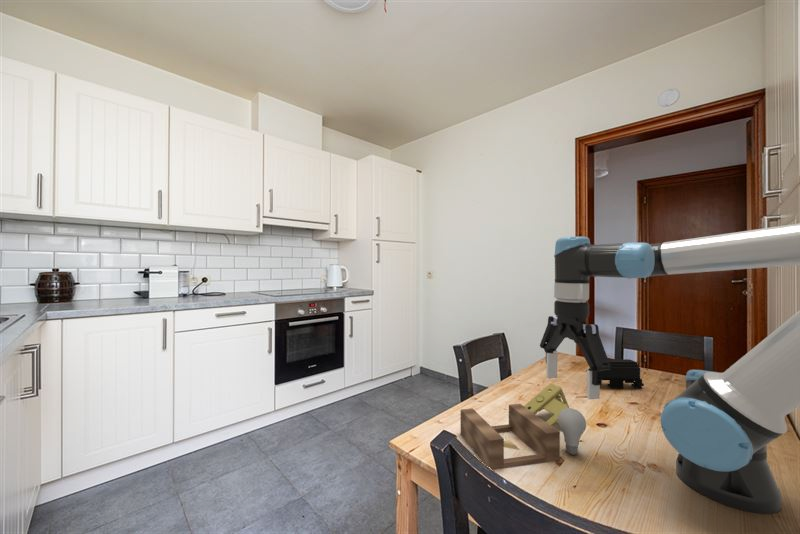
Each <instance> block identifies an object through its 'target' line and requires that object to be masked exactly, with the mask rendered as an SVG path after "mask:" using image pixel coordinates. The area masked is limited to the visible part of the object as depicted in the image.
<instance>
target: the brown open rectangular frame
mask: <svg viewBox="0 0 800 534" xmlns="http://www.w3.org/2000/svg"><path fill="white" fill-rule="evenodd" d="M501 433H513V434H514V435H515V436H516V437H517V438H518V439H520V441H522V443H524V444H525V445H526V446H528V448H530V449H531V450H532V451H533V452H534V453H536V454H531V455H530V454H529V455H523V456H521V455H520V456H515V457H514V456H513V457H509V458H505V456H504V455H505V451H504V450H505V448H507V449H511V450H517V451H521V449H520V448H519V447H518V446H517V445H516V444H515V443H513V441H511V439H508V440H505V438H504V437H503V436H502V435H500V434H501ZM460 435H461V437H462V438H463V439H464V440H465V442H466V443H467V445H468V446H470V448H471V450H472V451H474V453H475V454H476V455H477V457H478V458H479V459H480V461H481V462H482V463H483V464H484V465H485V464H486V465H487V466H488V467H490V468H491V469H492V470H491V471H493V470H495V471H496V470H501V469H507V468H509V469H510V468H515V467H522V466H523V467H524V466H529V465H537V464H544V463H552V462H558V461H560V460H561V456H560V455H561V445H560V444H561V439H560V438H561V433H560V430H558V429H557V428H555V427H554V426H553V425H552V426H551V425H549V424H548V423H547V422H546V420H544V419H542V418H541V417H539V416H538V415H537V414H534V413H532V412H531V411H530V410H528V409H527V408H525V407H524V405H523V404H521V403H513V404H508V423H507V424H499V425H490V424H489V422H487V420H485V419H484V418H483V417H482V416H481V415H480V414H479V413H478V412H477V411H476V410H475V409H474V408H473V407H472V408H462V409H460ZM486 465H485V466H486ZM487 466H486V467H487Z"/></svg>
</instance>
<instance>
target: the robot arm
mask: <svg viewBox="0 0 800 534" xmlns="http://www.w3.org/2000/svg"><path fill="white" fill-rule="evenodd" d="M590 241H591V240H590V238H589V237H587V236H566V237H564V236H563V237H559V238H558V239H557V240H556V241H555V243H554V244H555V245H554V246H555V247H554V254H553V258H554V284H553V285H554V290H553V292H554V293H553V298H554V299H556V300H555V301H554V304H553V305H554V308H553V309H554V311H553V313H554V315H551V316H550V315H549V316H548V318H547V324H546V327H545V330H544V333H543V335H542V338H541V340H540V343H539V347H540V349H543V350H544V353H545V364H546V367H545V368H546V369H545V371H546V373H545V374H546V375H545V377H546V378H547V379H556V378H558V353H557V352H558V350H557V349H558V348H559V346H560V345H561V344H562V342H563V341H564V340H565V339H567V338H568V339H569V340H572V341H573V343H575V344H577V346H578V348H579V349H580V351H581V354H582V355H583V358H584V359H585V362H586V363H587V365H588V367H589V368H587V369H586V399H588V400H599V399H600V396H601V395H600V392H601V388H600V387H601V386H602V384H603V380H602V371H603V370H610V369H611V366H610V363H609V361H608V359H609V358H608V356H607V353H606V350H605V348H604V347H605V346H604V345H603V341H602V339H601V337H600V330H599V325H598V324H587V318H589V317H590V303H589V302H588V301H589V299H590V277H592V278H594V277H599V278H620V279H621V278H623V279H624V278H625V279H629V280H630V279H639V278H640V279H645V278H649V277H656V276H668V275H680V274H681V275H682V274H695V273H705V272H722V271H723V272H724V271H734V270H747V269H763V268H776V267H789V266H800V222H799V223H793V224H785V225H777V226H770V227H764V228H757V229H750V230H743V231H737V232H729V233H721V234H714V235H707V236H701V237H694V238H693V237H692V238H685V239H680V240H679V239H678V240H671V241H665V242H659V243H658V242H656V243H648V242H636V241H635V242H632V241H629V242H619V243H604V244H602V243H601V244H591V242H590ZM594 363H595V364H596V365H595V364H594ZM602 363H603V364H602ZM684 381H685V382H686V383H685V385H686V386H685V387H686V388H685V390H684V391H682V392H681V393H680V394H679V395H677V397H675V398H673V399H671V400H669V401H668V402H666V403H665V405H664V406H663V409H662V411H661V414H660V418H659V419H660V421H659V422H660V427H661V429H662V432H663V435H664V437H665V439H666V440H667V441H668V443H669V444H670V446H672V448H673V449H674V450H676V451H677V452H678V455H677V457H676V460H675V473H676V476H678V478H679V479H680V480H681V482H683V483H684V484H685V485H687V486H688V487H689V488H691V489H692V490H693V491H696V492H697V493H698V494H701V495H703V496H705V497H707V498H709V499H711V500H713V501H715V502H717V503H720V504H722V505H725V506H729V507H730V508H734V509H736V510H737V509H738V510H742V511H744V512H745V511H746V512H749V513H757V514H774V513H778V512H780V511H781V509H782V494H781V491H780V488H779V487H778V484H777V482H776V478H775V477H774V475H773V472H772V470H771V468H770V465H769V463H768V456H767V454H768V451H767V450H768V446H767V445H768V444H770V443H771V442H773V441H775V440H777V439H778V438H779V437H781V436H782V435H785V433H787V432H788V426H787V423H786V419H785V418H786V417H785V416H787V415H789V414H790V413H792V412H793V411H795V410H796V409H798V408H799V407H800V309H799V310H798V311H797V312H796V313H794V314H793V315H792V316H791V317H789V318H788V319H787V320H786V321H785V322H783V323H782V324H781V325H780V326H779V327H777V328H776V329H775V330H773V331H772V332H771V333H770V334H769V335H767V336H766V337H765V338H764V339H763V340H761V341H760V342H759V343H758V344H756V345H755V346H754V347H753V348H752V349H751V350H749V351H748V352H747V353H745V355H743V356H742V357H740V358H739V359H738V360H737V361H736V362H734V363H733V364H732V365H730V366H729V368H727V369H726V370H725V371H724V372H717V371H711V370H710V371H709V370H703V369H689V370H688V371H687V372H686V375H685V378H684Z"/></svg>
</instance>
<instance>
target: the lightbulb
mask: <svg viewBox="0 0 800 534" xmlns="http://www.w3.org/2000/svg"><path fill="white" fill-rule="evenodd" d="M557 423H558V425H559V428H560V430H561V432H562V434H563V439H564V443H565V451H566V452H567V454H570V455H578V453H579V451H578V450H579V445H580V439H581V437H582V436H583V434H584V433H585V431H586V428H587V421H586V418H585V416H584V415H583V414H582V412H580V410H577V409H575V408H572V407H569V408H566V409H563V410H562V411H561V412H560V413H559V415H558V421H557Z"/></svg>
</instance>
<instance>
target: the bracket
mask: <svg viewBox="0 0 800 534" xmlns="http://www.w3.org/2000/svg"><path fill="white" fill-rule="evenodd" d="M523 406H524V407H525V408H527V409H528V410H530V411H531V412H532V413H534V414H535V415H537V413H538V412H542V411H543V410H545V411H547V412H548V413H550V414H551V415H552V416H551V417H550V418H549V419H547V420H545V422H547V423H548V424H549V425H551V426H552V427H553V425H555V423H558V415H559V413H560V412H561V411H562V410H563V409H566V408H570V406H569V404H568V401H567V399H566V396H565V393H564V391H563V388H561V386H559V385H555V383H548V385H547V386H545V388H543V389H542V390H540V392H538V393H537V394H536V395H535V396H534V397H532V398H531V399H530V400H529V401H528V402H526V404H524V405H523Z"/></svg>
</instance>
